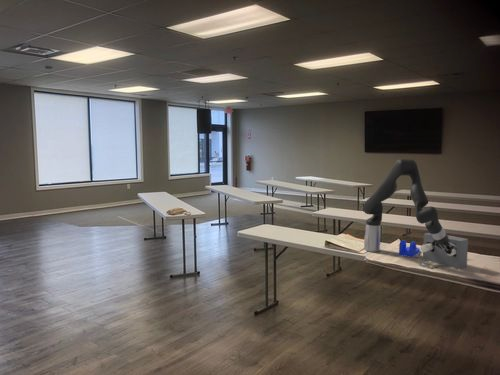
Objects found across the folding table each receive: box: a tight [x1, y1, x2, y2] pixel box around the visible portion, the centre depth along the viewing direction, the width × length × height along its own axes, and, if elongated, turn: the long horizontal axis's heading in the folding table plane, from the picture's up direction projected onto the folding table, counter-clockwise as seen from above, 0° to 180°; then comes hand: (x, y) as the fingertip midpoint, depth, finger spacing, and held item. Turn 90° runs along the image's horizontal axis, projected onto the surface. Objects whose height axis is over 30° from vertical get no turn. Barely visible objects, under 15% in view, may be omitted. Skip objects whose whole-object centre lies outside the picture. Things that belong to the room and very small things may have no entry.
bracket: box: [398, 239, 421, 258], centre depth 250 cm, size 18×8×9 cm, turn 140°
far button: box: [420, 243, 435, 253], centre depth 230 cm, size 8×4×4 cm, turn 124°
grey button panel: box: [422, 232, 469, 270], centre depth 228 cm, size 8×22×16 cm, turn 34°
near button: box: [448, 248, 457, 256], centre depth 221 cm, size 8×4×4 cm, turn 124°
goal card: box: [418, 262, 438, 270], centre depth 223 cm, size 6×8×1 cm
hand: (449, 252), depth 219 cm, fingers closed
